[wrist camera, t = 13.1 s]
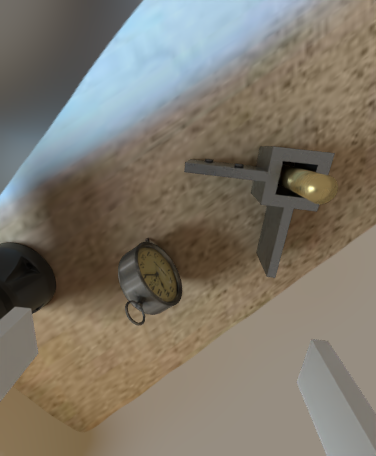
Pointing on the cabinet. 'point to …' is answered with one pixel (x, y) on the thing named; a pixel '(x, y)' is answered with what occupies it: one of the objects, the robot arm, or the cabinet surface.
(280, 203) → the hinge leaves
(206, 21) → the cabinet surface
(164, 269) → the alarm clock
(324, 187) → the hinge pin
